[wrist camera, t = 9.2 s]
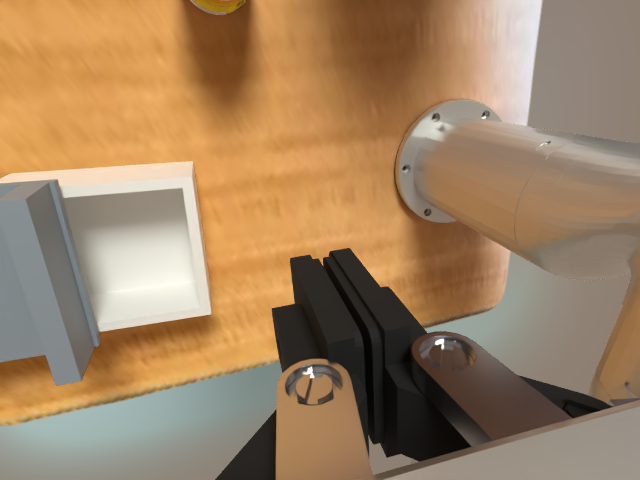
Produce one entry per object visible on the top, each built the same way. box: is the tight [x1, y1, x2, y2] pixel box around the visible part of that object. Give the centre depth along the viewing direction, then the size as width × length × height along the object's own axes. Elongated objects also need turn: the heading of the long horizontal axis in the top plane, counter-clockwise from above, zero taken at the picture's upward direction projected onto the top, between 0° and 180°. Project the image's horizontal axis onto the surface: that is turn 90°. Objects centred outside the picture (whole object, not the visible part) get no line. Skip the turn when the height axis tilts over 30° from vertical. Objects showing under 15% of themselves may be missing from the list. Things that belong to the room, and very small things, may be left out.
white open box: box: [0, 161, 211, 332], centre depth 34 cm, size 14×12×6 cm
